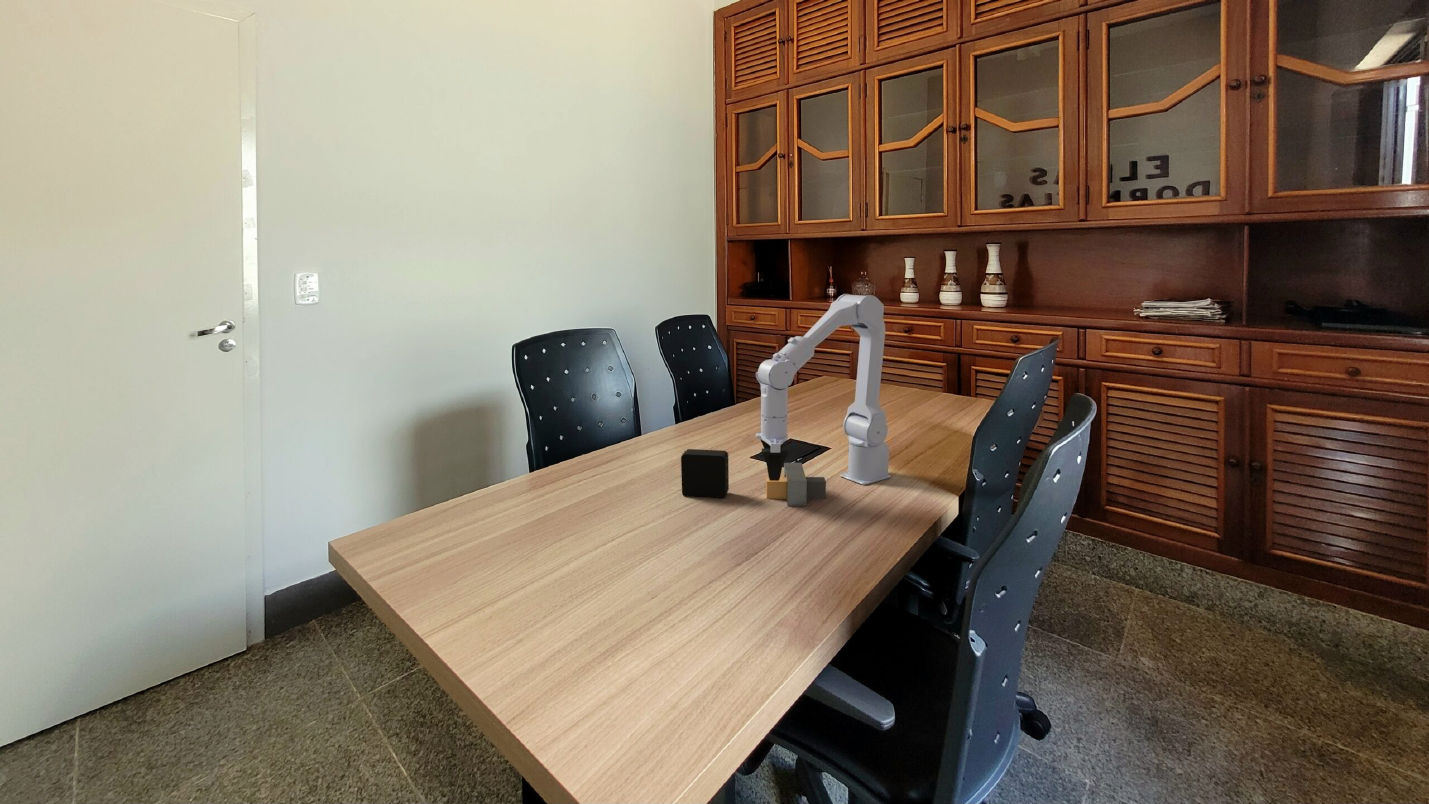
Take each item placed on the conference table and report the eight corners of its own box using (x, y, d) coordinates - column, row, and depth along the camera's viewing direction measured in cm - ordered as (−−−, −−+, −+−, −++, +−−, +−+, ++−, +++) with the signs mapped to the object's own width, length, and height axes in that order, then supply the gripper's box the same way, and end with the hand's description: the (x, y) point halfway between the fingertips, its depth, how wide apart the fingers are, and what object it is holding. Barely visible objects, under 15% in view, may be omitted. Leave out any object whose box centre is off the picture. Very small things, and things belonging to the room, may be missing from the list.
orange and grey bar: (823, 493, 138) (824, 476, 137) (825, 498, 135) (826, 481, 134) (766, 493, 138) (766, 476, 137) (766, 498, 135) (766, 481, 135)
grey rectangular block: (801, 486, 142) (801, 462, 141) (806, 506, 131) (806, 480, 129) (783, 486, 143) (784, 462, 141) (787, 506, 131) (787, 480, 130)
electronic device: (725, 499, 135) (725, 456, 133) (681, 496, 137) (680, 454, 135) (728, 492, 139) (728, 450, 137) (686, 489, 141) (685, 448, 139)
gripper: (755, 407, 140) (754, 463, 143) (756, 423, 126) (756, 485, 129) (785, 407, 140) (785, 464, 143) (790, 423, 126) (789, 485, 128)
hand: (773, 474), depth 136 cm, fingers open, 7 cm apart
